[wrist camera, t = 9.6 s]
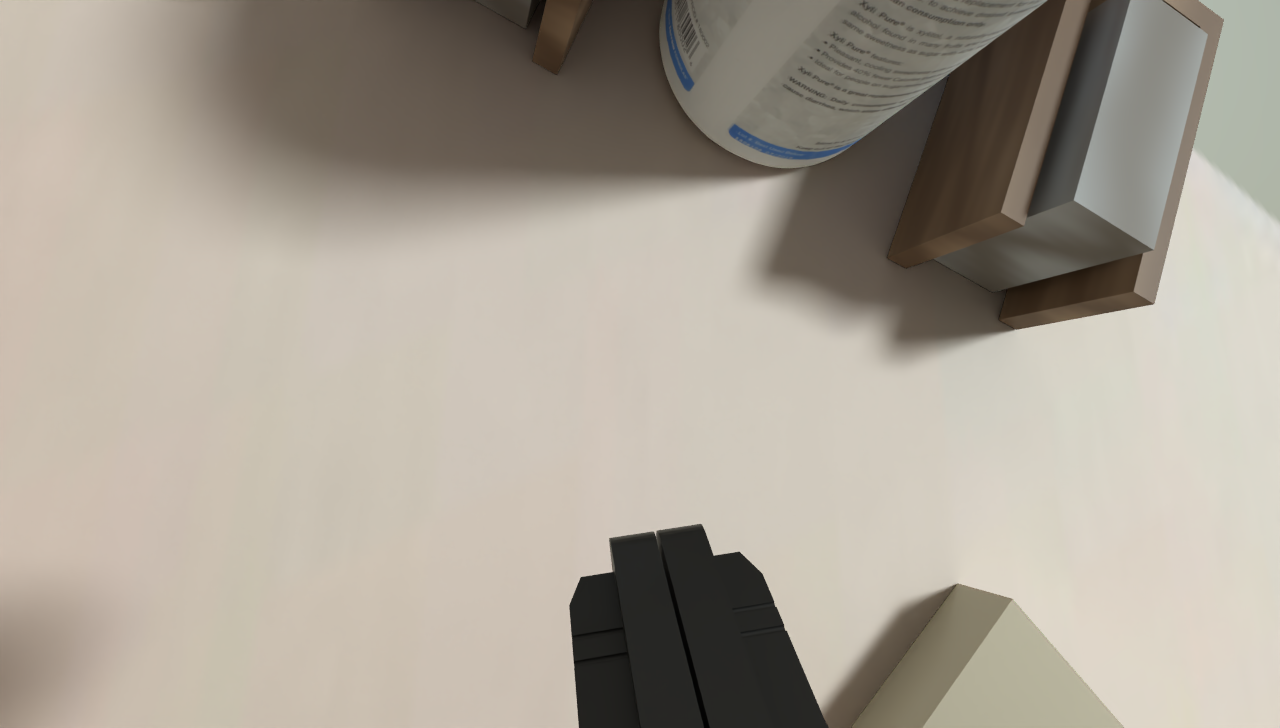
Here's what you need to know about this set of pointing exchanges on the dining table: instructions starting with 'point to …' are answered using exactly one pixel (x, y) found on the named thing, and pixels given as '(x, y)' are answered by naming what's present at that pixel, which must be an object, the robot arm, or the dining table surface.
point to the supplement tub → (815, 66)
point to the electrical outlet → (984, 674)
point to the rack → (1041, 151)
